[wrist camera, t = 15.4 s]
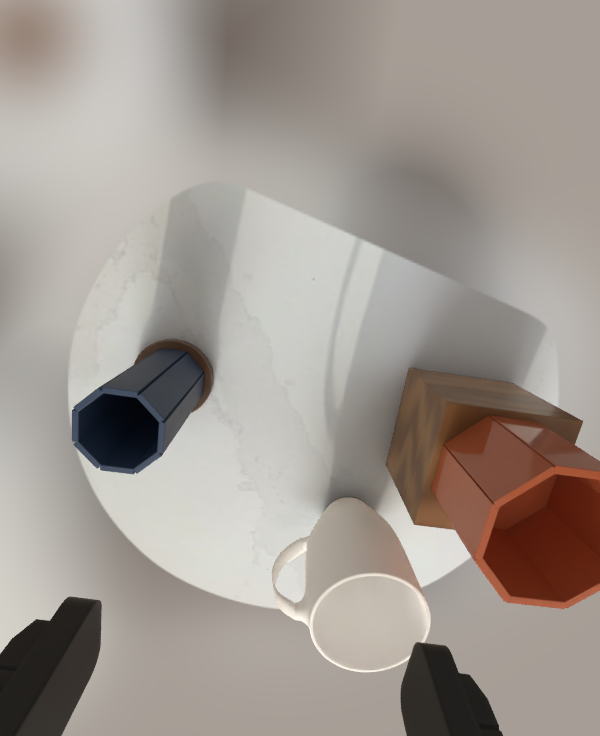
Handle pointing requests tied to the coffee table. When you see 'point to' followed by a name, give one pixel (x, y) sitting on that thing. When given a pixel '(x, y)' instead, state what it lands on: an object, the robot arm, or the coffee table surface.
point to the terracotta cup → (524, 509)
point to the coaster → (195, 354)
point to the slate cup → (138, 412)
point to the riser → (454, 429)
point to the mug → (357, 590)
